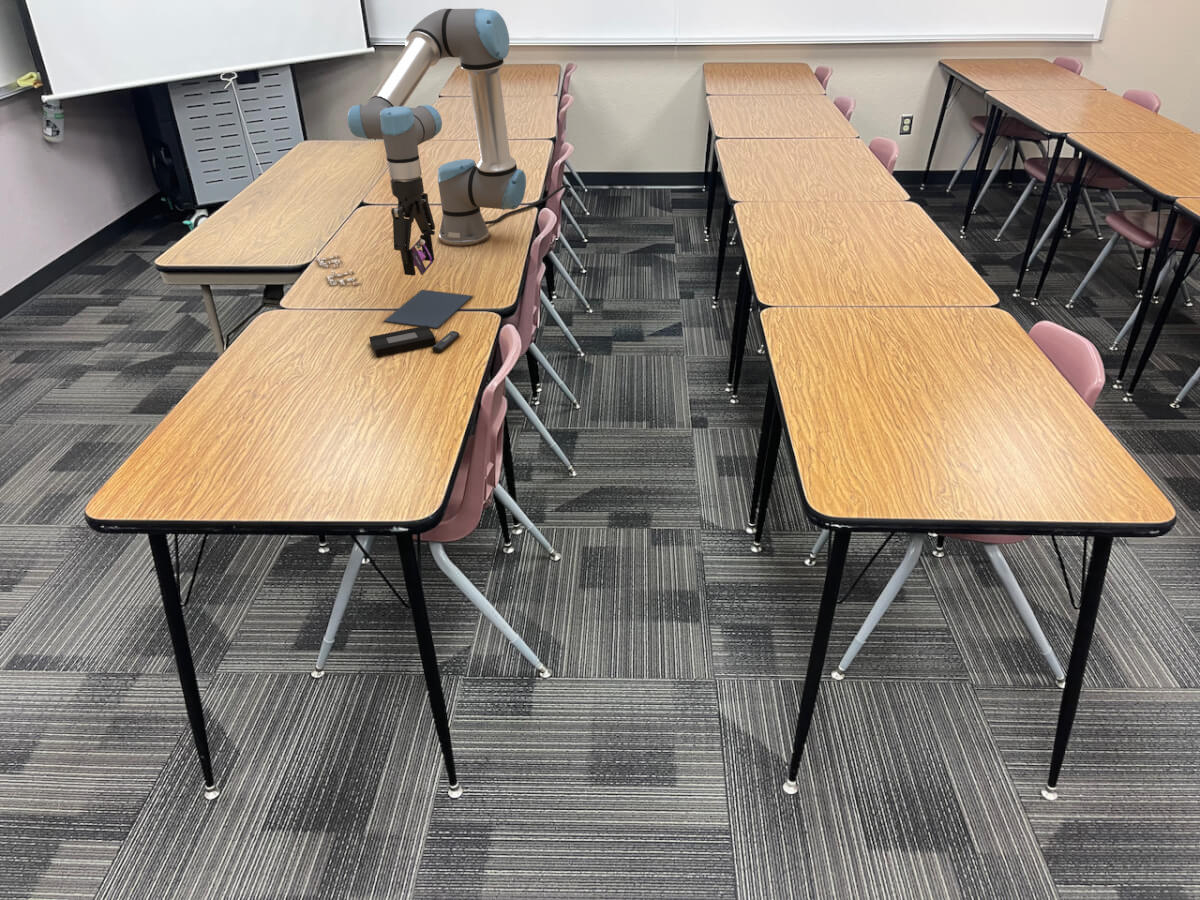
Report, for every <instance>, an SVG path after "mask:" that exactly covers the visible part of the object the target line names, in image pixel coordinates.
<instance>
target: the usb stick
mask: <svg viewBox="0 0 1200 900" xmlns="http://www.w3.org/2000/svg"><path fill="white" fill-rule="evenodd" d="M459 337H460V332H458V331H456V330H451V331H449V332H448V333H447V334H446V335H444V337H442V338H441V339H439V341H438V342H436V344H435V345H432V346H431V350H432V351H433V352H434V353H441V352H442V351H444V349H446V348H447V347H449V346H450V345H451V344H452V343H453V342H454V341H456V339H457V338H459Z"/></svg>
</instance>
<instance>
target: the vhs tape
mask: <svg viewBox="0 0 1200 900" xmlns="http://www.w3.org/2000/svg"><path fill="white" fill-rule="evenodd" d="M368 339H369V343H370V346H371V348H372V350H373V352H374V354H375V357H376V358H379V357H384V356H390V355H395V354H398V353H403V352H407V351H412V350H417V349H422V348H427V347H433V346H434V345H435V344H437V340H436V336H435V335H434V333H433V332H432V330H431V328H429V327H428V325H426V326H421V327H419V326H415V327H412V328H406V329H400V330H396V331H392V332H387V333H382V334H377V335H372V336H369V337H368Z"/></svg>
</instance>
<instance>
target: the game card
mask: <svg viewBox="0 0 1200 900" xmlns="http://www.w3.org/2000/svg"><path fill="white" fill-rule="evenodd" d="M422 245H423V247H424V248H425V250H426V252H427V254H428V256H429V258H430V260H429V261H428V262H429V263H428V265H427V266H425V264H424V261H425V260H424V259H425V258H426V256H425V252H423V251H422ZM410 249H412V254H413V261H414V267H416V268H417V270H418V272H419V274H420V276H423V275H424V274H425V273H426V272H427V271H428V270H429V268H430V267H431V265H433V263H434V261H433V259H432V257H431V255H430V253H429V251H428V249H427V247H426V245H425V241H424V240H423V239H422V238H420V237H419V239H418V240H417V241H416V242H415V243H414V244H413V245H412V246H411V247H410Z"/></svg>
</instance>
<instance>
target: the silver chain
mask: <svg viewBox="0 0 1200 900" xmlns="http://www.w3.org/2000/svg"><path fill="white" fill-rule="evenodd" d="M334 255H335V259H334V256H333V255H330V256H329V260H328V264H329V265H331V263H332V264H333V268H334V269H336V268H339V265H342V263H341V260H340V259H338V254H337V253H336V252H335V253H334ZM315 259H316V261H317V262H318V264H319V266H320V267H324V268H326V269H328V268H329V265H328V264H327V262H325V261H327V257H322V258H319V257H318V255H315ZM331 259H332V260H331ZM330 260H331V261H330ZM348 271H349V272H345V271H344V273H343V274H342V273H341V272H340V274H339V273H336V270H331V274H330V275H327V281H328V283H329V285H330V286H331V287H332V286H336V285H338V282H339V283H340V286H343V287H344V286H345V287H346V285H349V283H350V282H352V285H353V286H358V281H355V277H349V278H347V279H343V278H342V279H339V280H336V279H335V280H334V279H333V278H334V277H339V278H340V277H343V276H346V275H348V274H350V275H352V274H353V273H352V270H351V269H350V268H349V269H348ZM345 280H346V282H347V283H346V284H345V282H344V281H345Z"/></svg>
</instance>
